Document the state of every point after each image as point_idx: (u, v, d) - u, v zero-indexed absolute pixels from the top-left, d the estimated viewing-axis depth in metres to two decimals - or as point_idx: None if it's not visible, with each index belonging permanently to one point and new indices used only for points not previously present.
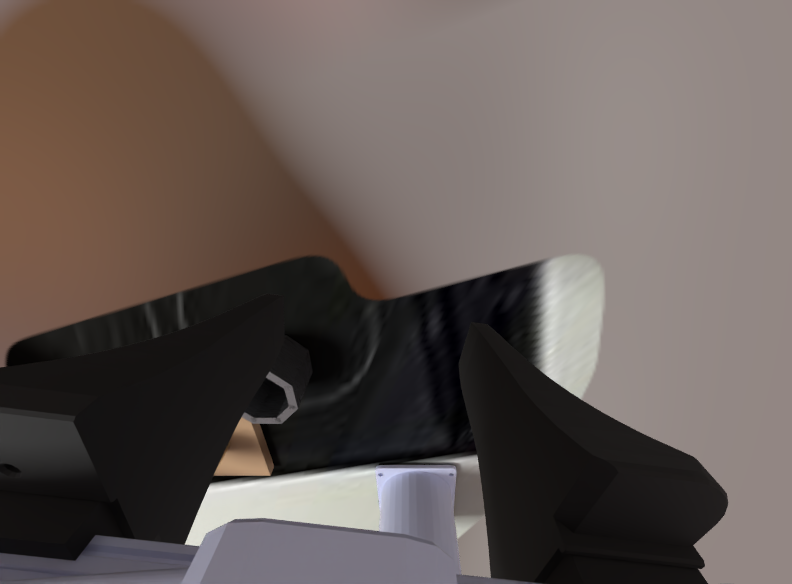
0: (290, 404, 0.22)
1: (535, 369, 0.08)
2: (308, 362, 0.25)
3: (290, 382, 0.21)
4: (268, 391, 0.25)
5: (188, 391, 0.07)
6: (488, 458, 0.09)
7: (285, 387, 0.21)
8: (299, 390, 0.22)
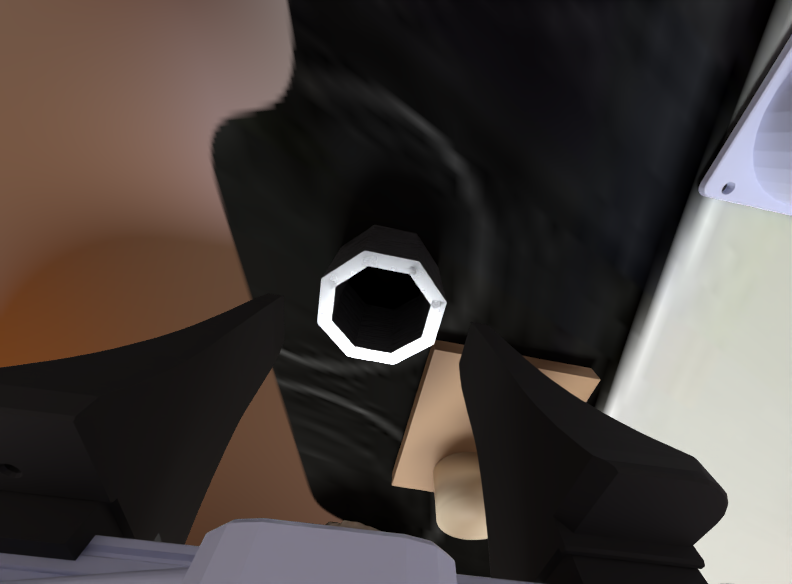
0: (406, 270, 0.12)
1: (535, 369, 0.08)
2: (391, 230, 0.15)
3: (361, 251, 0.12)
4: (419, 308, 0.16)
5: (188, 391, 0.07)
6: (488, 458, 0.09)
7: (369, 264, 0.12)
8: (397, 249, 0.13)
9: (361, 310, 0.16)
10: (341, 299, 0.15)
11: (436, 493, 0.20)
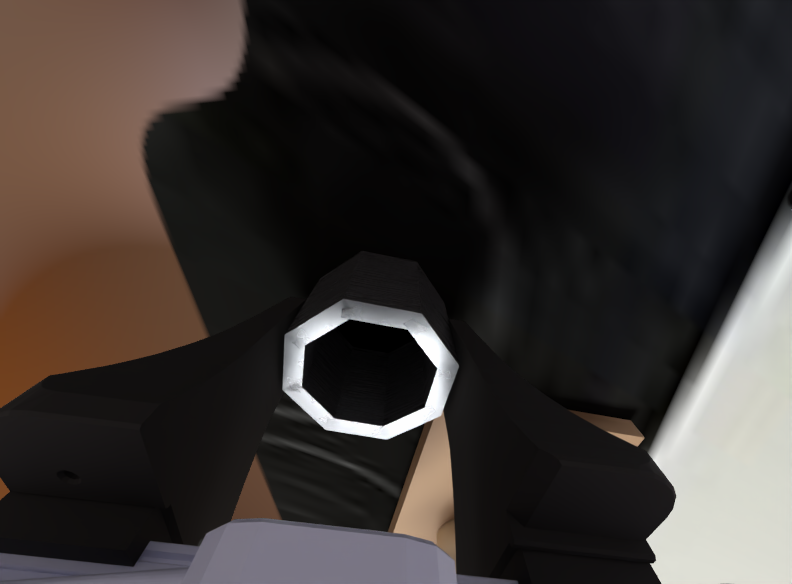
0: (403, 324, 0.09)
1: (504, 365, 0.08)
2: (384, 259, 0.11)
3: (339, 299, 0.08)
4: (420, 356, 0.12)
5: (229, 396, 0.07)
6: (458, 454, 0.09)
7: (351, 316, 0.09)
8: (390, 292, 0.09)
9: (346, 357, 0.13)
10: (319, 349, 0.12)
11: None
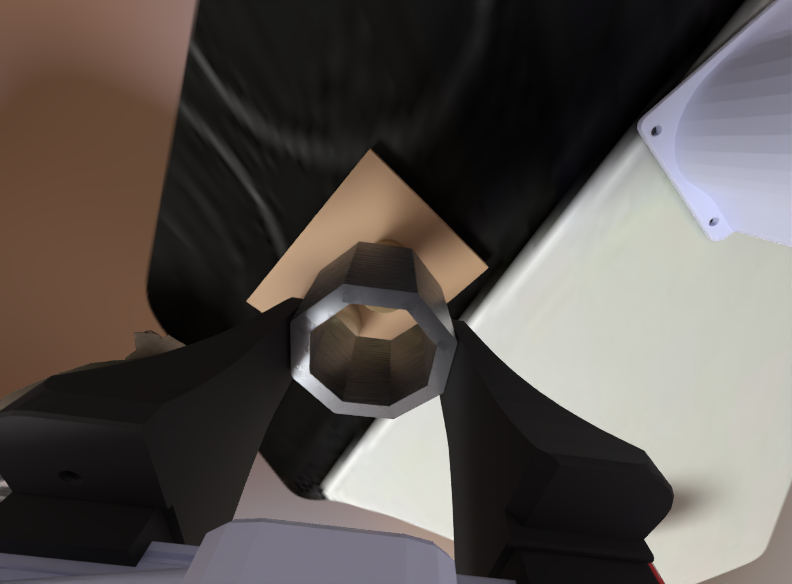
0: (401, 305, 0.09)
1: (503, 365, 0.08)
2: (380, 247, 0.12)
3: (339, 285, 0.09)
4: (421, 340, 0.13)
5: (230, 396, 0.07)
6: (457, 454, 0.09)
7: (352, 300, 0.09)
8: (388, 276, 0.10)
9: (350, 346, 0.13)
10: (323, 337, 0.12)
11: None
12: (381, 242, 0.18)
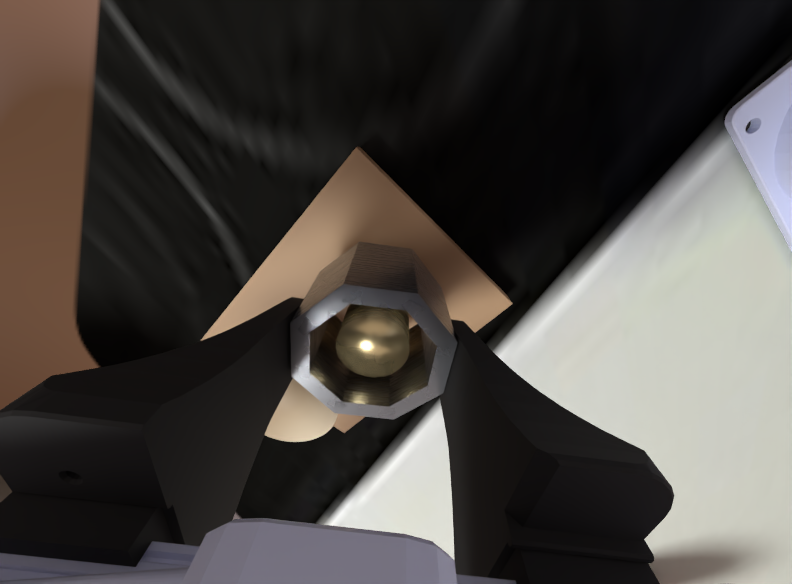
0: (401, 305, 0.09)
1: (503, 365, 0.08)
2: (380, 248, 0.12)
3: (340, 285, 0.09)
4: (421, 340, 0.13)
5: (230, 397, 0.07)
6: (457, 454, 0.09)
7: (352, 300, 0.09)
8: (388, 277, 0.10)
9: None
10: (323, 338, 0.12)
11: None
12: None
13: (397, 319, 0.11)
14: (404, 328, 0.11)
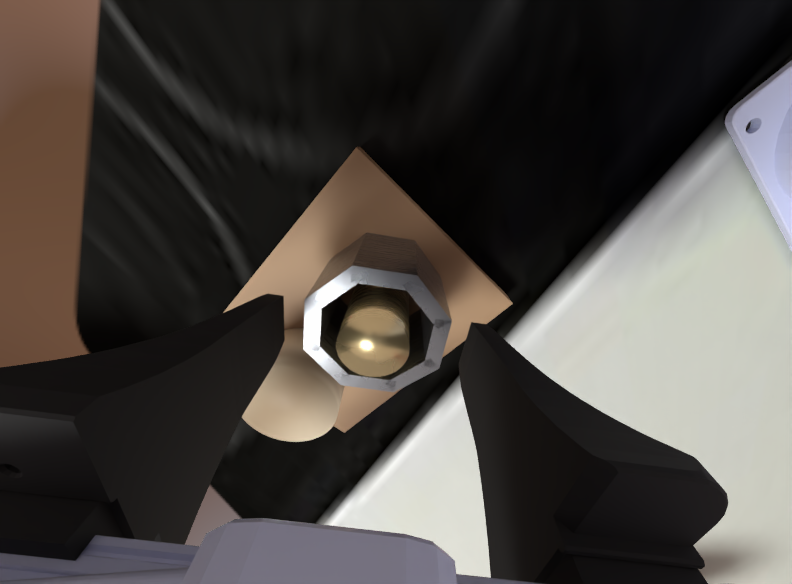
0: (402, 286, 0.10)
1: (535, 369, 0.08)
2: (385, 238, 0.13)
3: (349, 267, 0.10)
4: (421, 323, 0.14)
5: (188, 391, 0.07)
6: (488, 458, 0.09)
7: (359, 281, 0.10)
8: (391, 261, 0.11)
9: None
10: (332, 318, 0.13)
11: None
12: None
13: (397, 319, 0.11)
14: (404, 328, 0.11)
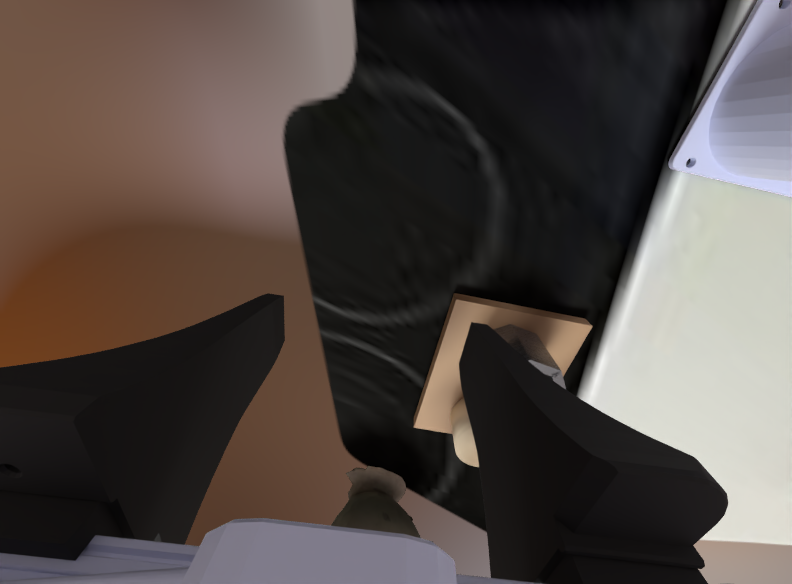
0: None
1: (535, 369, 0.08)
2: None
3: None
4: None
5: (188, 391, 0.07)
6: (488, 458, 0.09)
7: None
8: None
9: None
10: None
11: (454, 427, 0.24)
12: None
13: None
14: None
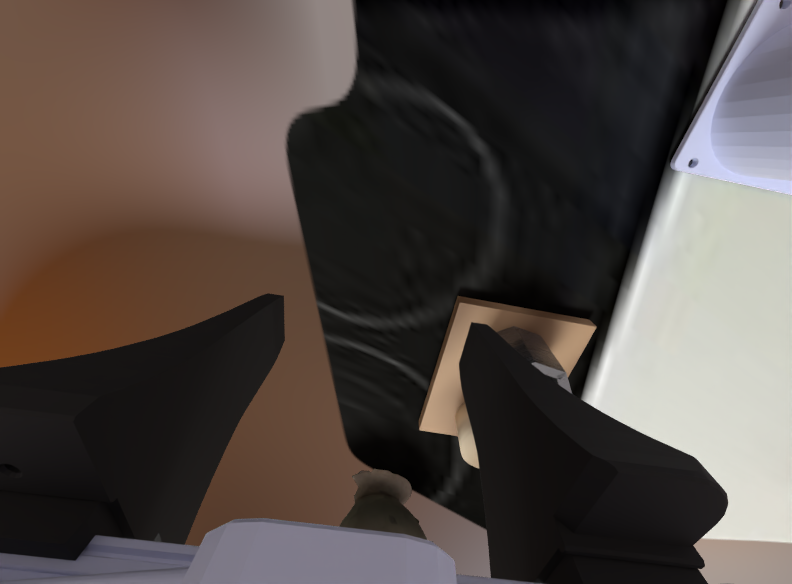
0: None
1: (535, 369, 0.08)
2: None
3: None
4: None
5: (188, 391, 0.07)
6: (488, 458, 0.09)
7: None
8: None
9: None
10: None
11: (459, 430, 0.24)
12: None
13: None
14: None
